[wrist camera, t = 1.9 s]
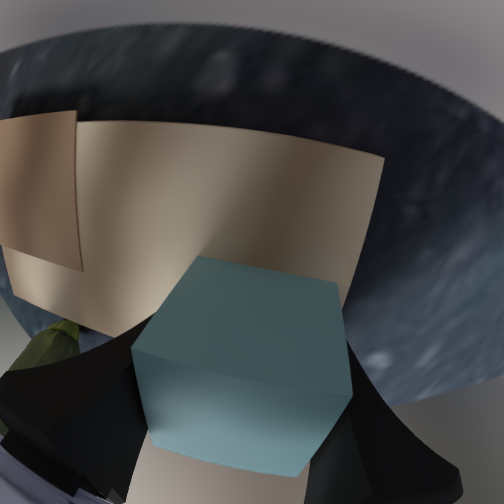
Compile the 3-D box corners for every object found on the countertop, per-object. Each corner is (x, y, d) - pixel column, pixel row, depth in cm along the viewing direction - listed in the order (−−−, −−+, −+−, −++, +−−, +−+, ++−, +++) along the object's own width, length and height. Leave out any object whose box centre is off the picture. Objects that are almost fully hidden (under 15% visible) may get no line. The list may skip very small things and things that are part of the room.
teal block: (337, 282, 10) (352, 395, 6) (303, 377, 12) (296, 477, 8) (197, 255, 11) (130, 347, 6) (193, 354, 13) (152, 445, 8)
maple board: (378, 140, 9) (388, 143, 8) (311, 367, 14) (311, 387, 12) (7, 119, 11) (-10, 122, 9) (25, 285, 15) (13, 295, 14)
